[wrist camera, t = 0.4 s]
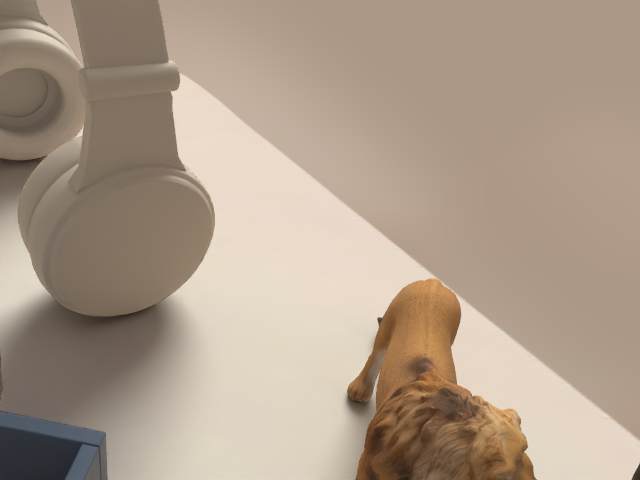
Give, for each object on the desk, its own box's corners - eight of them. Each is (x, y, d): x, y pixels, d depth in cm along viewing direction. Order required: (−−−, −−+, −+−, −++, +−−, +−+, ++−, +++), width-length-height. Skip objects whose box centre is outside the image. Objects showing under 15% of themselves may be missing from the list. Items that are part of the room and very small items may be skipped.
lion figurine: (491, 636, 21) (610, 497, 16) (341, 630, 21) (414, 481, 15) (422, 332, 33) (478, 193, 28) (325, 321, 32) (364, 176, 27)
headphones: (215, 294, 32) (261, -119, 21) (52, 350, 28) (-2, -147, 16) (73, 123, 44) (54, -206, 32) (-60, 141, 39) (-138, -238, 28)
